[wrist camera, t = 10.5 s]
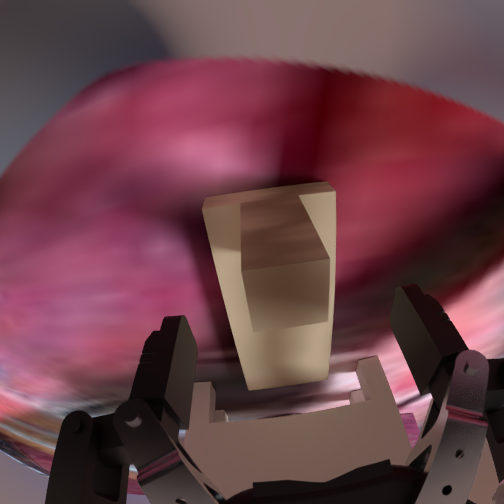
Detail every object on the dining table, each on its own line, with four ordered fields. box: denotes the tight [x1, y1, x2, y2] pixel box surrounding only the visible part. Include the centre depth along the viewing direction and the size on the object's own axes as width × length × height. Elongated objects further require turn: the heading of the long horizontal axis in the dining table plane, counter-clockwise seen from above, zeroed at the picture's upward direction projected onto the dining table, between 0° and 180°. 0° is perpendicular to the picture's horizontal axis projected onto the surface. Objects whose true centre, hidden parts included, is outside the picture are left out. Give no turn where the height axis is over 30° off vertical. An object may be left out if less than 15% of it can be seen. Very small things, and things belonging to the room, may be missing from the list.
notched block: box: [184, 356, 412, 499], centre depth 20 cm, size 19×8×16 cm, turn 98°
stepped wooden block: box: [202, 181, 336, 390], centre depth 18 cm, size 7×17×8 cm, turn 8°
